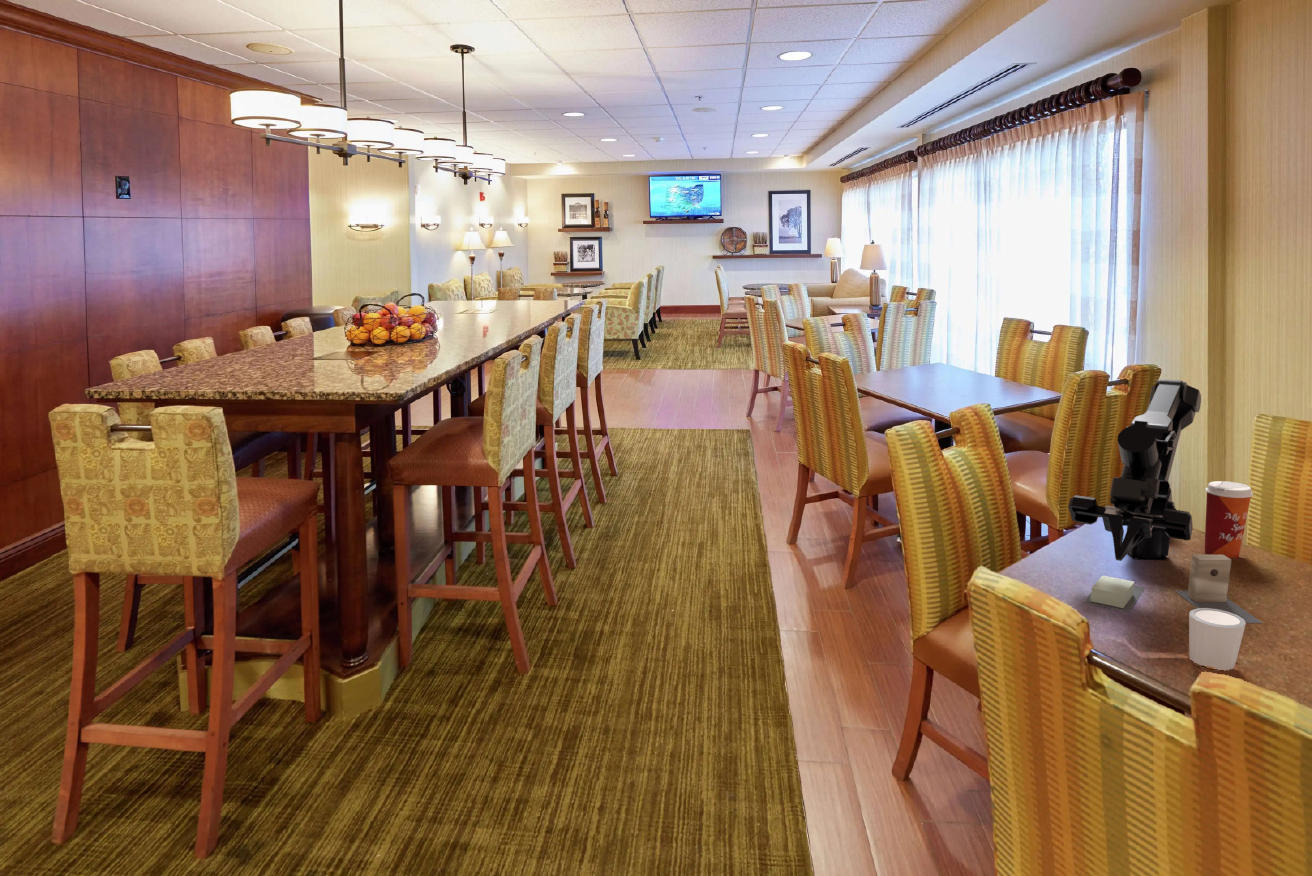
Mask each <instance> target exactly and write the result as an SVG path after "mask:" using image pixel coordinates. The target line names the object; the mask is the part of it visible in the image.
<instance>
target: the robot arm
mask: <svg viewBox="0 0 1312 876" xmlns="http://www.w3.org/2000/svg"><path fill="white" fill-rule="evenodd" d="M1150 390H1151V391H1150V395H1149V400H1148V406H1147V409H1146V411H1145V412H1144V413H1143V414H1140V415H1137V416H1135V417H1134V418H1133V419H1132V421H1131V423H1129V424H1130V425H1128V426H1126V427H1125V428H1123V429H1122V430H1121V431H1120V433H1118V435H1117V444H1118V451H1119V456H1120V459H1121V463H1122V464H1123V467H1122V471H1121V475H1120V477H1112V480H1111V481H1112V482H1111V487H1110V491H1109V496H1110V498H1109V499H1110V501H1109V502H1110V504H1112V505H1105V506H1102V505H1098V502H1097V499H1096V498H1095V497H1092V496H1083V495H1077V494H1075V495H1073V497H1071V498H1070V500H1069V503H1068V506H1067V507H1068V510H1069V513H1070V517H1071V520H1072V521H1073V522H1075V523H1078V524H1086V525H1093V524H1096V523H1097V522H1098V518H1102V523H1103V527H1104V530H1105V531H1106V532H1110V533H1111V536H1112V542H1113V549H1114V558H1115V561H1120V562H1121V561H1123V559H1124V558H1125V557H1126V556H1127V555H1128V556H1129V557H1130V558H1132V559H1133V560H1136V561H1169V560H1170V558H1168V556H1169V551H1170V541H1171V539H1176V540H1180V541H1189V540H1191V539H1192V533H1193V530H1194V529H1193V526H1194V525H1193V515H1191V513H1190V512H1189V511H1187V510H1181V509H1177V508H1176V505H1175V501H1173V497H1172V495H1173V494H1172V489H1171V485H1170V483H1169V478H1170V476H1171V472H1172V468H1173V467H1172V466H1173V463H1174V459H1175V455H1176V452H1177V448H1178V444H1179V440H1180V436H1181V433H1182V431H1183V430H1184V429H1186V428H1187V427H1188V426H1190V425H1191V424H1193V423H1194V418H1195V416H1196V413H1200V409H1201V404H1202V394H1201V392H1200V390H1199V388H1195V387H1193V386H1191V385H1188V383H1187V381H1183V380H1178V379H1177V380H1176V379H1162V378H1161V379H1160V380H1156V382H1155V385H1152V386H1151V388H1150ZM1124 527H1126V533H1125V531H1124Z"/></svg>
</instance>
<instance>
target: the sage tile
mask: <svg viewBox="0 0 1312 876" xmlns="http://www.w3.org/2000/svg"><path fill="white" fill-rule="evenodd" d="M1134 585H1135V581H1134V580H1133V581H1132V580H1128V579H1122V578H1117V577H1114V576H1113V577H1112V576H1107V575H1102V576H1101V577H1100V578H1098V580H1097V581H1096V582H1095V583H1094V585H1093V586H1092V587H1091V591H1090V593H1091V601H1092V602H1097V603H1101V604H1106V605H1111V606H1115V607H1120V608H1124V607H1125V605H1126V604H1127V603H1128V601H1129V600H1130V599H1131V597H1132V596H1133V592H1134Z"/></svg>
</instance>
